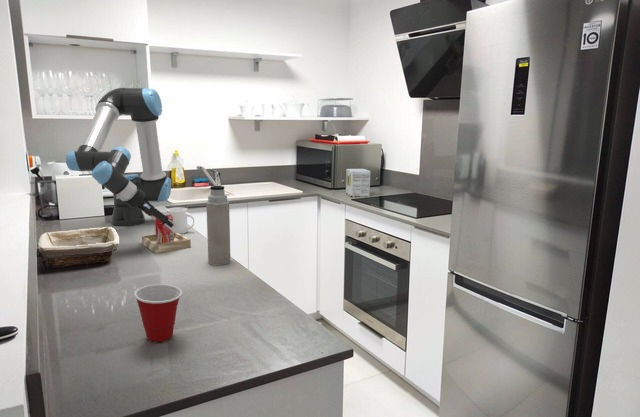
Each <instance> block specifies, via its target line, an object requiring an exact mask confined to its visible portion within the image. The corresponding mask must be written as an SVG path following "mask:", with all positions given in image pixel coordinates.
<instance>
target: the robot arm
mask: <svg viewBox="0 0 640 417" xmlns="http://www.w3.org/2000/svg"><path fill="white" fill-rule="evenodd" d="M162 107H163V105H162V99H161V96H160V94H159V93H158V91H156V90H155V89H154V88H147V87H146V88H145V87H118V88H114V89H112V90H110V91H109V92H106V93H105V94H104V95H103V96H102V97H101V98H100V99H99V100H98V102H97V104H96V106H95V114H94V116H93V117H92V120H91V122H90V123H89V126H88V128H87V130H86V132H85V134H84V136H83V137H82V140H81V142H80V144H79V146H78V148H77V149H76V150H73V151H72V150H71V151H69V152H67V154H66V156H65V164H66V166H67V169H69V170H70V171H74V172H91V177H92V179H94V180H95V181H97V183H98V184H100V185H101V186H102V187H104V188H105V189H107V190H108V191H109V192H110V193H112V196H113V212H112V215H111V219H110V222H111V225H113V226H119V227H120V226H121V227H125V226H128V227H129V226H135V225H140V224H144V223H145V221H146V218H145V215H146V216H149V217H150V218H151V219H152V220H154V221H155V217H156V218H157V219H158V220H160V221H161V222H162V225H165V226H167V227H168V228H169V229H170V230H172V231H173V232H174V233H175V234H176V233H177V231H178V230H179V229H180V228H179V227H178V226H177V225H176V224H174V223H173V222H172V221H171V220H169V218H168V217H166V216H165V215H164V214H162V213H163V212H161V211H160V210H159V209H157V208H156V207H155V206H154V205H152V204H151V203H152V202H153V203H156V202H157V203H160V202H167V201H168V200H169V198H170V196H171V192H172V180H171V179H172V178H170V177H167V173H166V172H165V171H164V170H163V169H162V168H163V167H162V160H161V151H160V144H159V137H158V129H157V122H158V120H159V118H160V117H159V116H161V115H162V112H163V109H162ZM121 116H130V118H131V119H130V120H131V121H132V122H133V123H135V128H136V134H137V142H138V148H139V153H140V154H139V155H140V160H141V167H142V173H141V174H140V176H139V174H137V173H132V174H125V172H126V170H127V167H128V166H129V165H130V161H131V157H132V155H131V153H130V151H129V150H128V148H125V147H124V146H115V147H113V148H112V149H111V150H110V151H101V150H102V149H103V146H104V144H105V142H106V139H107V138H108V135H109V133H110V131H111V128H112V127H113V124H114V122H115V121H117V120H118V119H119V117H121ZM124 174H125V175H124ZM150 202H151V203H150ZM164 218H165V219H164Z"/></svg>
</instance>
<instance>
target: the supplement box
mask: <svg viewBox="0 0 640 417" xmlns="http://www.w3.org/2000/svg"><path fill="white" fill-rule="evenodd" d="M345 173H346V174H345V175H346V176H345V177H346V178H345V181H346V182H345V194H346V193H348V194H350V195H369V196H370V191H371V190H370V189H371V188H370V187H371V170H368V169H366V168H346V172H345Z"/></svg>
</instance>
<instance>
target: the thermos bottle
mask: <svg viewBox="0 0 640 417" xmlns="http://www.w3.org/2000/svg"><path fill="white" fill-rule="evenodd" d="M209 189H210V194H209V195H208V196H207V201H206V204H205V205H206V206H205V207H206V229H207V230H206V233H207V234H206V236H207V263H208V264H209V265H212V264H213V266H222V265H227V264H229V263H230V262H231V227H230V226H231V224H230V223H231V222H230V221H231V220H230V201H228V195H227V194H226V193H225V186H223V185H213V186H210V188H209Z"/></svg>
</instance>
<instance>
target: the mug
mask: <svg viewBox="0 0 640 417" xmlns="http://www.w3.org/2000/svg"><path fill="white" fill-rule="evenodd" d="M187 211H188V209H187V208H186V207H178V206H177V207H171V208H170V207H169V208H167V209H166V212H169V213H171V216H172V217H173V223H174V224H176V225H177V226H178V227H179V228H180V229H179V230H178V231H177V233H179V234H181V235H184V234H186V233H187V232H188V231H189V230H192V229H193V227H194V225H195V218H194V216H193V215H192V214H191V213H189V212H187ZM188 217H189V218H190V219H192V220H193V222H192V224H191V225H188Z"/></svg>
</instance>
